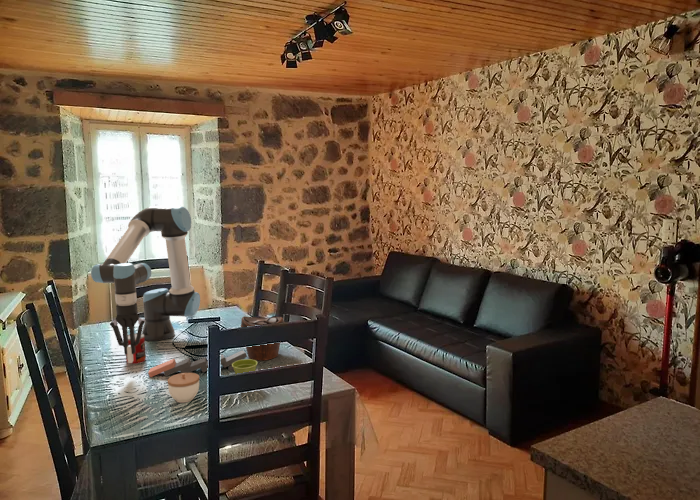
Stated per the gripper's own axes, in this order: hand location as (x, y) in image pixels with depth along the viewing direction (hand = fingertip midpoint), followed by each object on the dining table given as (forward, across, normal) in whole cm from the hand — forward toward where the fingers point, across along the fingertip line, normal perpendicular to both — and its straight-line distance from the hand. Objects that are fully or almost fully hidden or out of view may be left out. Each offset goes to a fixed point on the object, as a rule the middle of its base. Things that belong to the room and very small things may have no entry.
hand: (130, 361), depth 208 cm
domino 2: (+5, +13, 0) cm, 14 cm away
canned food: (+6, -2, +18) cm, 19 cm away
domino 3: (+5, +19, 0) cm, 20 cm away
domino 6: (+5, +38, +1) cm, 38 cm away
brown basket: (+6, +52, +13) cm, 54 cm away
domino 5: (+4, +35, +2) cm, 35 cm away
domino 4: (+5, +27, 0) cm, 27 cm away
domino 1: (+5, +7, 0) cm, 9 cm away
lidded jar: (+6, +23, -26) cm, 36 cm away
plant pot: (+6, +44, -19) cm, 49 cm away
